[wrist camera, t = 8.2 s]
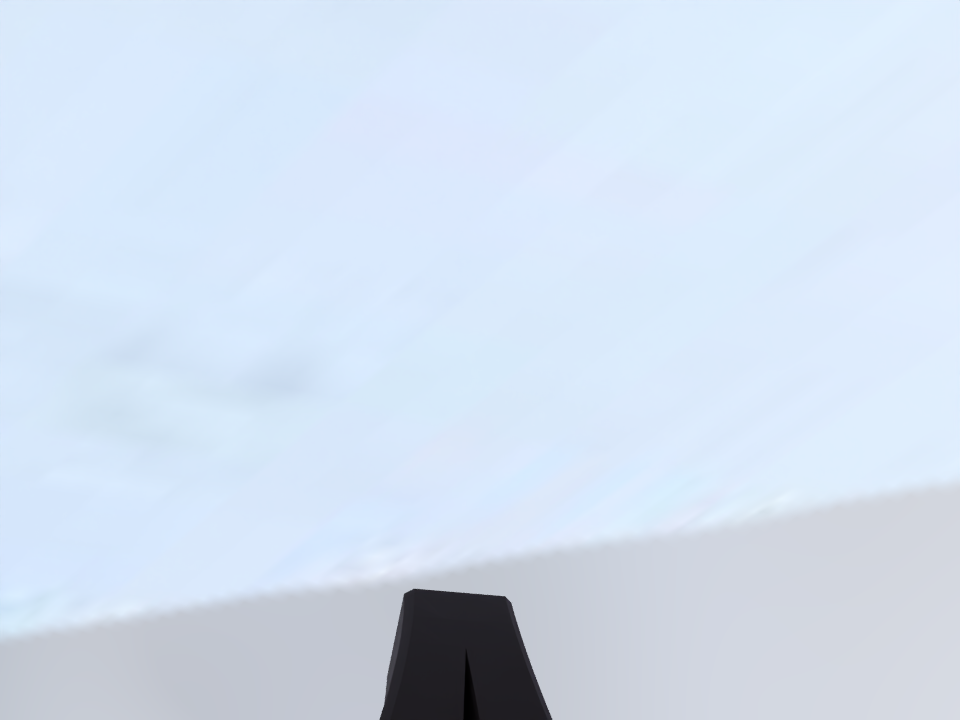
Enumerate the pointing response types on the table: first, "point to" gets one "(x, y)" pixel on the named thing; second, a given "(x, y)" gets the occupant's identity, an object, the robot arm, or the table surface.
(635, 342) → the table surface
